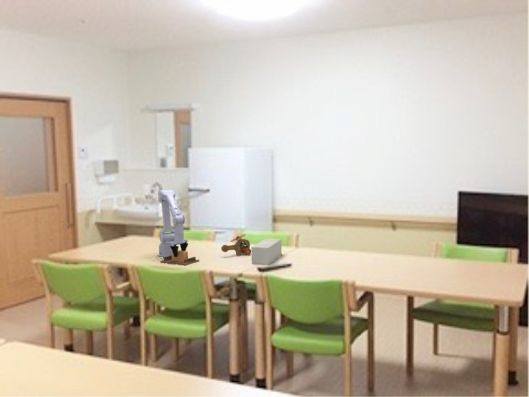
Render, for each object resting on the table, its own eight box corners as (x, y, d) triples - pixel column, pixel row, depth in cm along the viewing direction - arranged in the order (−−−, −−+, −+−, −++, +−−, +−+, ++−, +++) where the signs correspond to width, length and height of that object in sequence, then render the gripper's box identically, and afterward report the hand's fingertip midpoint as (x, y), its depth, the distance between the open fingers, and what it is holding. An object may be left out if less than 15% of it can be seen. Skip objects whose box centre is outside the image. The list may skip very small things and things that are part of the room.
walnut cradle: (160, 262, 353) (159, 257, 353) (174, 258, 365) (174, 253, 365) (185, 265, 343) (185, 260, 343) (199, 261, 355) (199, 256, 355)
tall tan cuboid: (171, 260, 355) (171, 251, 354) (175, 259, 358) (175, 250, 357) (184, 261, 350) (184, 252, 349) (187, 260, 353) (187, 251, 352)
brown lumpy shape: (252, 255, 373) (252, 234, 372) (225, 258, 362) (224, 237, 361) (246, 253, 380) (246, 232, 379) (219, 256, 369) (218, 235, 368)
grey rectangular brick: (266, 254, 376) (265, 238, 375) (281, 255, 373) (281, 239, 372) (251, 264, 345) (251, 247, 344) (268, 265, 342) (268, 247, 341)
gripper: (176, 236, 344) (177, 258, 345) (191, 233, 357) (191, 254, 358) (167, 235, 348) (168, 257, 349) (182, 232, 360) (182, 253, 361)
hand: (179, 255), depth 354 cm, fingers open, 7 cm apart
